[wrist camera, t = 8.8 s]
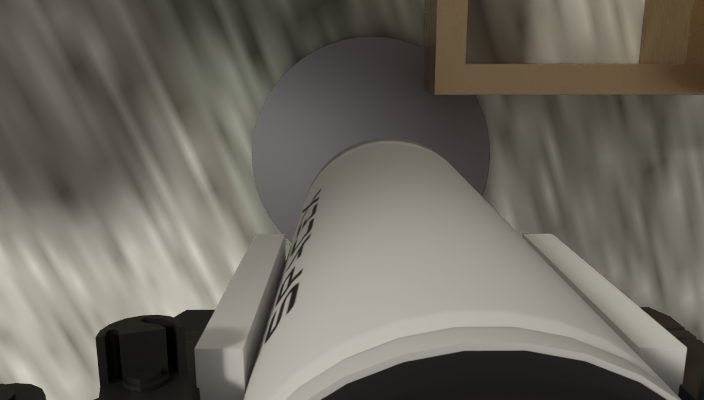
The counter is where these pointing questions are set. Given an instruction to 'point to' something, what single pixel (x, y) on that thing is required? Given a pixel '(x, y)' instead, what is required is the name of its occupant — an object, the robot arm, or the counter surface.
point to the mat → (357, 119)
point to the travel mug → (428, 298)
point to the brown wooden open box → (571, 79)
